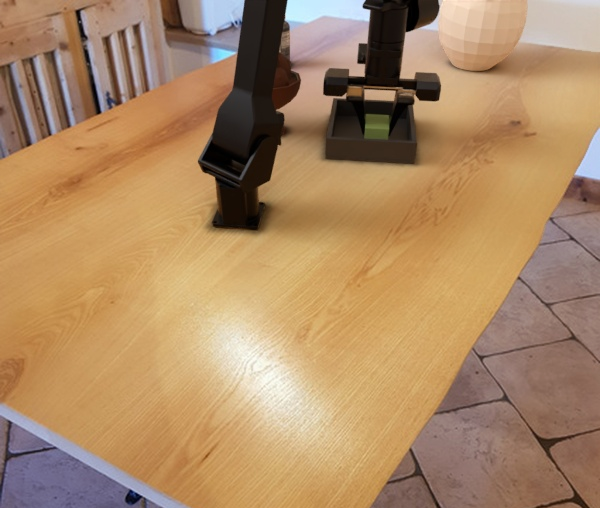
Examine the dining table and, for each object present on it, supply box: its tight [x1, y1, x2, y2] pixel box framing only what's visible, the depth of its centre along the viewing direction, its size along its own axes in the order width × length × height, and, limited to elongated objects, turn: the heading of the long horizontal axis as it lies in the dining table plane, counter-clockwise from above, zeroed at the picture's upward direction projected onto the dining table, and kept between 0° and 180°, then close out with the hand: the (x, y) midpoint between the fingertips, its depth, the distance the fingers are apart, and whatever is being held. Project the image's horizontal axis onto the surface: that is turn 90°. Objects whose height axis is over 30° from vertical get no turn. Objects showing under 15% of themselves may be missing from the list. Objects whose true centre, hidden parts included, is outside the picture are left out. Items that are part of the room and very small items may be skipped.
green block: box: [364, 114, 389, 140], centre depth 95 cm, size 6×4×3 cm, turn 174°
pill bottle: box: [279, 16, 291, 61], centre depth 123 cm, size 6×6×11 cm
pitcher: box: [437, 0, 528, 72], centre depth 119 cm, size 19×18×25 cm
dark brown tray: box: [324, 97, 418, 165], centre depth 96 cm, size 18×15×4 cm
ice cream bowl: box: [272, 52, 302, 136], centre depth 94 cm, size 11×11×15 cm
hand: (376, 134), depth 95 cm, fingers closed on green block, 4 cm apart
